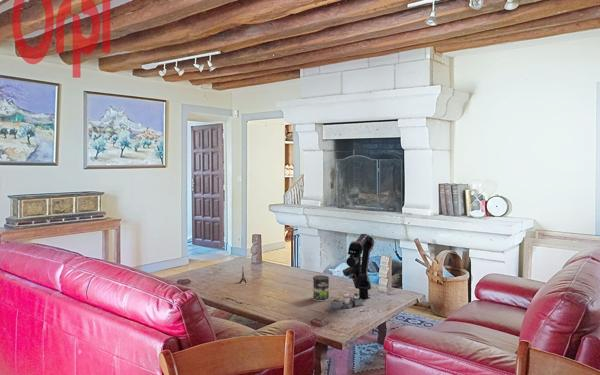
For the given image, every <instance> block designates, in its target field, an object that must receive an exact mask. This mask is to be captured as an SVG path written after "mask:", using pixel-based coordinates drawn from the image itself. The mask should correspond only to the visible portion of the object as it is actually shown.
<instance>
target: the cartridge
mask: <svg viewBox="0 0 600 375" xmlns="http://www.w3.org/2000/svg"><path fill="white" fill-rule="evenodd" d="M342 295H343V301H344V305H349V302H350V299H351V298H350V294H349V293H344V294H342Z"/></svg>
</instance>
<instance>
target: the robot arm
mask: <svg viewBox="0 0 600 375" xmlns="http://www.w3.org/2000/svg"><path fill="white" fill-rule="evenodd" d="M374 246H375V240H374V238H373V237H371V236H370V235H369V234H368V233H360V236H359V237H358V238H357V239H356V240H355V241H351V242H350V244H349V247H348V251H347V255H349V257H347V259H346V262H345V263H346V265H347V266H348V267H346V268H344V269H342V274H343V276H345V277H347V278H348V277H350V279H352V281H353V286H354V288H355V289H357V290H358V294H359V298H361V299H362V300H365V299H370V300H371V297H370V296H369V291H370V290H371V289H372V284H371V282H370V281H371V280H370V277H369V274H368V270H369V262H370V254H371V252H372V251H373V249H374Z"/></svg>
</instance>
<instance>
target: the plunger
mask: <svg viewBox="0 0 600 375" xmlns="http://www.w3.org/2000/svg"><path fill="white" fill-rule="evenodd" d="M353 295H354V296H353V298H354V299H355V300H358V299H359V292H358V293H356V292H355V293H353Z"/></svg>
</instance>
